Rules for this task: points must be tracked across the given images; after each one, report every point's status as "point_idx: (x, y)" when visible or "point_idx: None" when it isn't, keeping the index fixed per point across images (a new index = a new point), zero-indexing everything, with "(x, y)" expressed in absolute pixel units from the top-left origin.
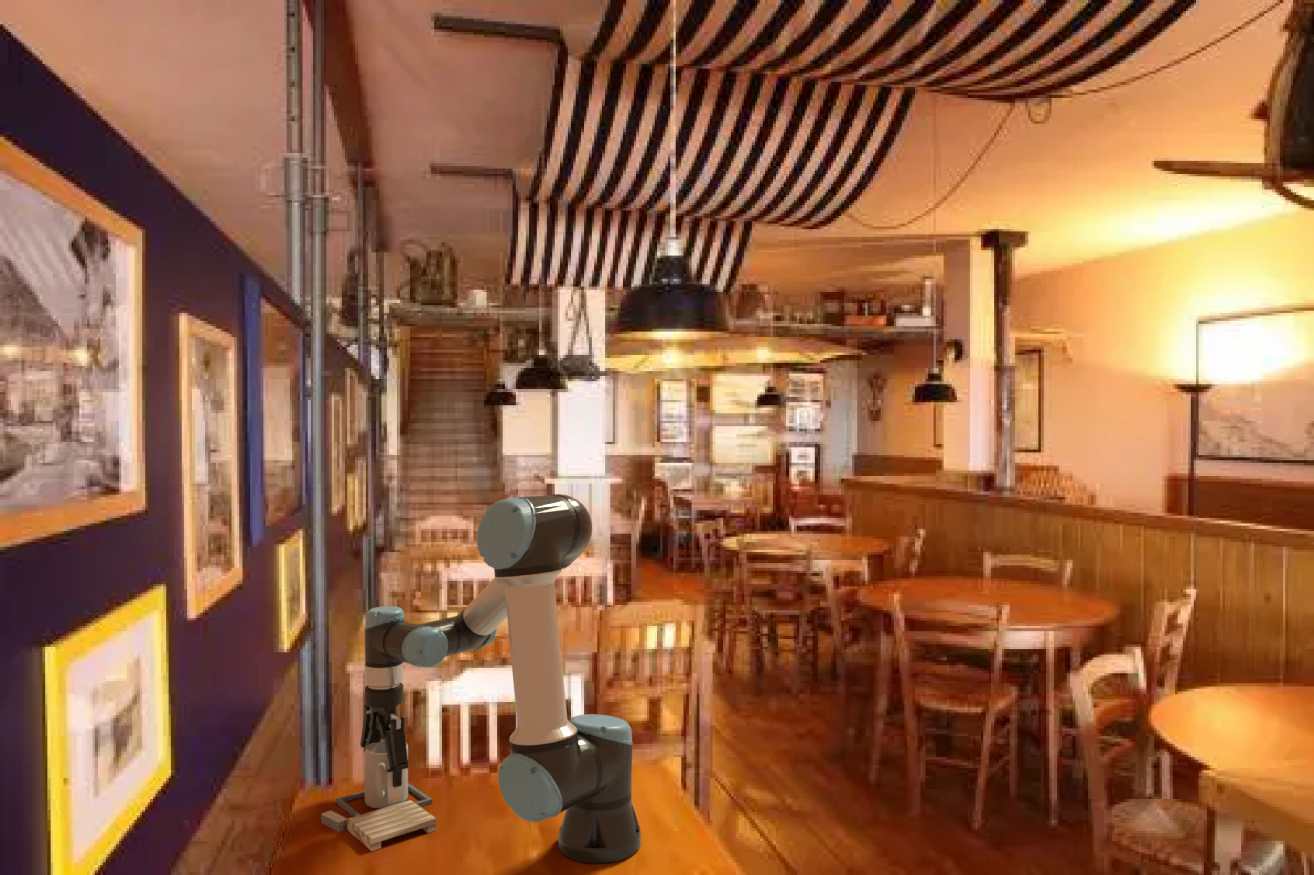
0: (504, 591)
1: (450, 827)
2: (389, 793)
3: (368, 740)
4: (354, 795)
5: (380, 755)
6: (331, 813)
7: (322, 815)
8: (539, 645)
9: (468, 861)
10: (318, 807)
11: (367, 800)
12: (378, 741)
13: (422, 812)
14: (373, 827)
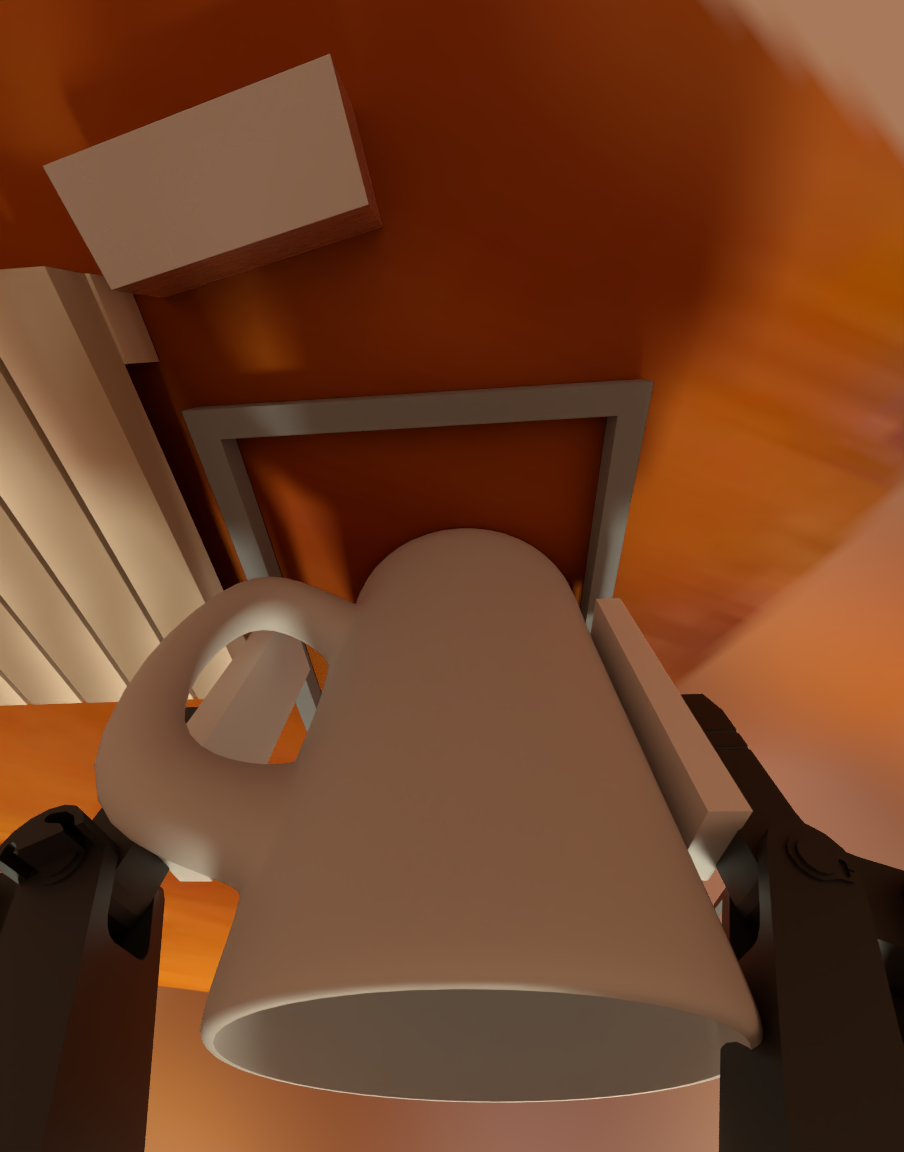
0: None
1: (52, 705)
2: (238, 655)
3: (837, 1131)
4: (602, 509)
5: (221, 985)
6: (292, 182)
7: (307, 68)
8: None
9: None
10: (674, 214)
11: (445, 541)
12: (726, 1068)
13: (68, 687)
14: None
